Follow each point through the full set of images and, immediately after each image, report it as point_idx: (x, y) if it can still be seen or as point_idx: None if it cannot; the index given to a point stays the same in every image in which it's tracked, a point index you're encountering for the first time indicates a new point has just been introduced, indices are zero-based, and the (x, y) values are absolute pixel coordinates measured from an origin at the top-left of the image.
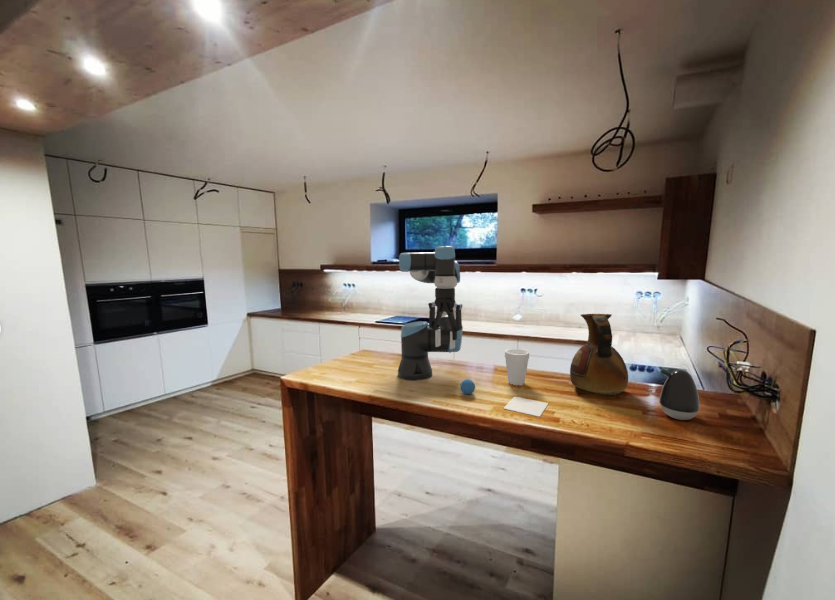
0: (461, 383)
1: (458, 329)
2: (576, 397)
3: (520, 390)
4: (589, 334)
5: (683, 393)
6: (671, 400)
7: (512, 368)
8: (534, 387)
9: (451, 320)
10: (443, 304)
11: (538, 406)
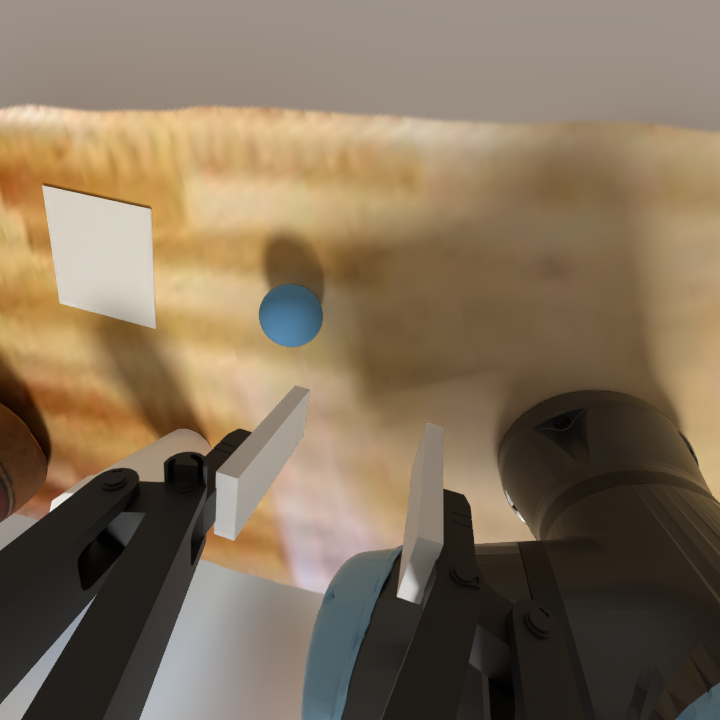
0: (307, 307)
1: (105, 477)
2: (25, 373)
3: (159, 389)
4: None
5: None
6: None
7: (148, 461)
8: (134, 422)
9: (93, 624)
10: None
11: (72, 267)
